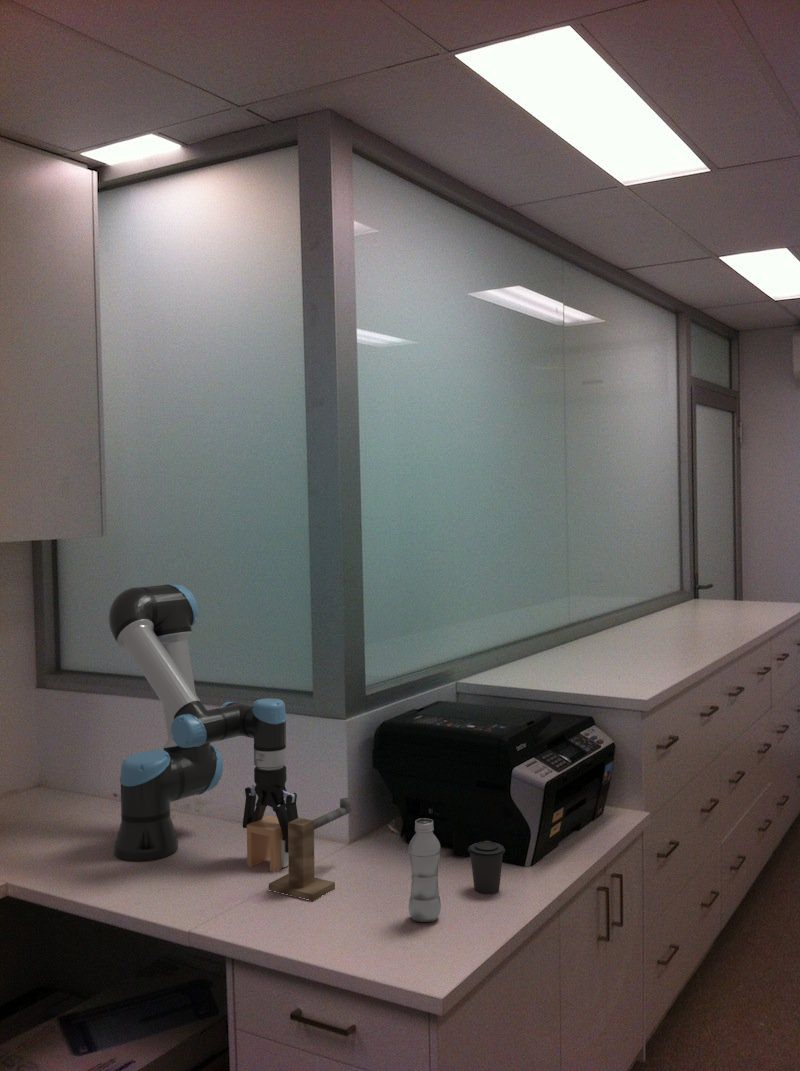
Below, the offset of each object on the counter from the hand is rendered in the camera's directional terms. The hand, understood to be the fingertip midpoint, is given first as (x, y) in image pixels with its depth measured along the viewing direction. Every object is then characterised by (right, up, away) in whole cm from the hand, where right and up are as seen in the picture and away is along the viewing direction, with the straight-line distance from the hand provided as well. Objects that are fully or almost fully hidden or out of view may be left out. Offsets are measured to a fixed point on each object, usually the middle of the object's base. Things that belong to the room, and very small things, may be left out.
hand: (271, 862), depth 233 cm
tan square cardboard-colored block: (0, 0, 0) cm, 0 cm away
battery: (+46, 0, +6) cm, 47 cm away
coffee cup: (+49, -1, -18) cm, 52 cm away
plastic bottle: (+35, -1, -33) cm, 48 cm away
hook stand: (+13, 0, -10) cm, 16 cm away
